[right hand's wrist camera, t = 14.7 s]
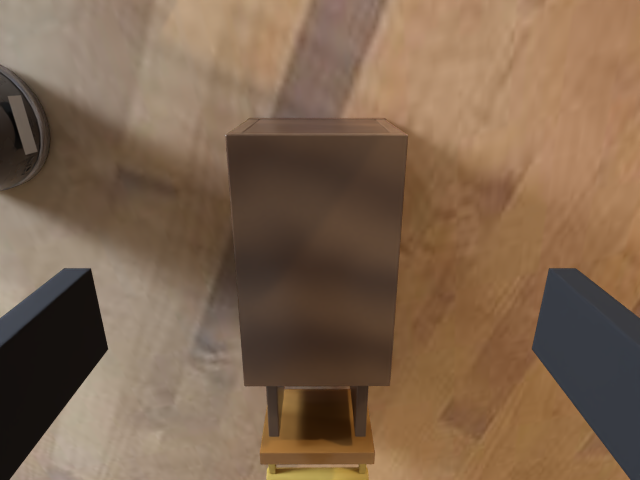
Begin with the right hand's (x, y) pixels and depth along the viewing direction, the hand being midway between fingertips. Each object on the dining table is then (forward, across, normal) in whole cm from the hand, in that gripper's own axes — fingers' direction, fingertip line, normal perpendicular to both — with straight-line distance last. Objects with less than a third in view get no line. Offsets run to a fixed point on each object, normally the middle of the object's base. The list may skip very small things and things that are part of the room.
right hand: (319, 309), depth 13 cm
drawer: (+21, 0, -17) cm, 27 cm away
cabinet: (+22, 0, -5) cm, 22 cm away
